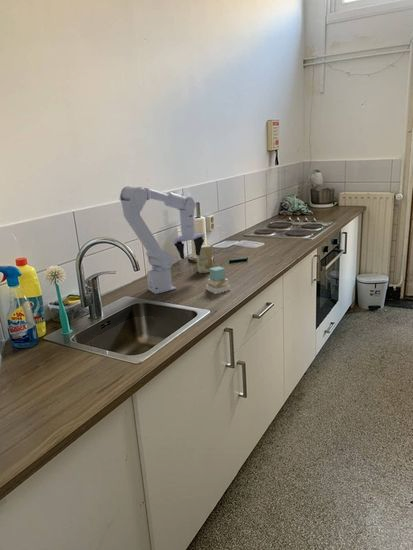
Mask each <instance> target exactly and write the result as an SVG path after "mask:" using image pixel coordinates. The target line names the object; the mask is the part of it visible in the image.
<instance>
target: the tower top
mask: <svg viewBox="0 0 413 550" xmlns="http://www.w3.org/2000/svg"><path fill="white" fill-rule="evenodd" d="M207 285H209V286H211V287H213V288H215V289H217V288H221V287H224V286H228V285H230V284H229V279H228V278H226V277H225V279H224V280H220V281H214V280H211V279H210V278H207Z"/></svg>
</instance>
